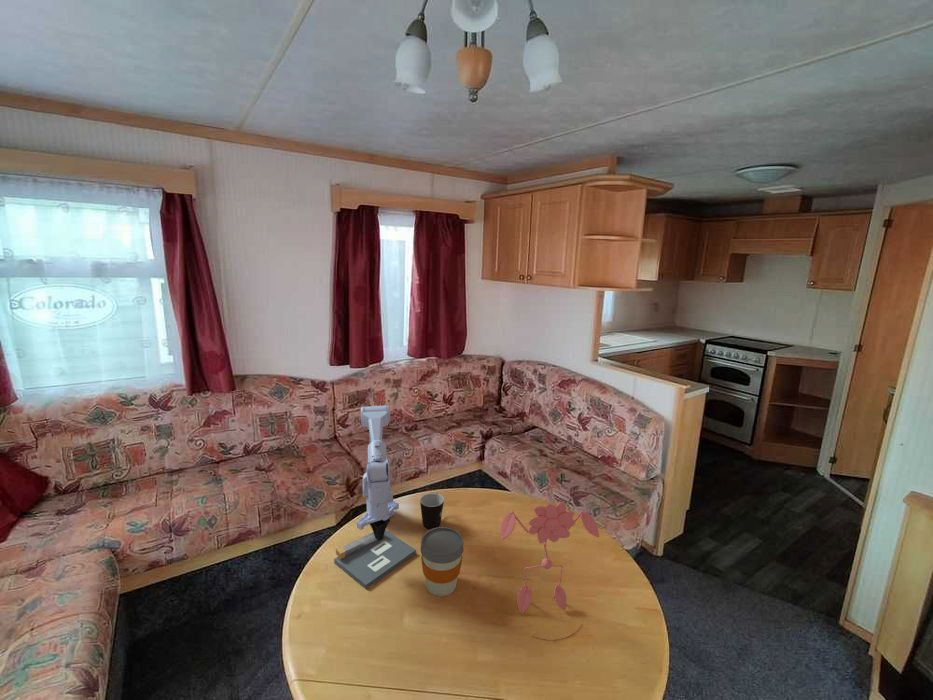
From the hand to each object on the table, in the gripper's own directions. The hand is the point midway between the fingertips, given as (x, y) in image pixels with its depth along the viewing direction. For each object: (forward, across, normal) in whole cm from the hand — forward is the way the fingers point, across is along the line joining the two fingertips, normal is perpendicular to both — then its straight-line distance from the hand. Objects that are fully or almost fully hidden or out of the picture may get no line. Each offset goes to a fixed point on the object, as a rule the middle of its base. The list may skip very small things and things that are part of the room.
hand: (379, 538), depth 129 cm
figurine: (+10, +17, -49) cm, 53 cm away
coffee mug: (+10, +27, +2) cm, 29 cm away
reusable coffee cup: (+10, +7, -20) cm, 23 cm away
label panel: (+10, +1, +3) cm, 10 cm away
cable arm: (+7, 0, +10) cm, 12 cm away
